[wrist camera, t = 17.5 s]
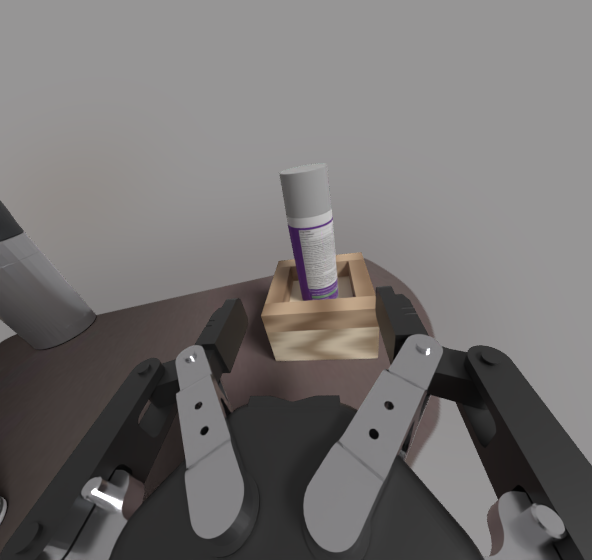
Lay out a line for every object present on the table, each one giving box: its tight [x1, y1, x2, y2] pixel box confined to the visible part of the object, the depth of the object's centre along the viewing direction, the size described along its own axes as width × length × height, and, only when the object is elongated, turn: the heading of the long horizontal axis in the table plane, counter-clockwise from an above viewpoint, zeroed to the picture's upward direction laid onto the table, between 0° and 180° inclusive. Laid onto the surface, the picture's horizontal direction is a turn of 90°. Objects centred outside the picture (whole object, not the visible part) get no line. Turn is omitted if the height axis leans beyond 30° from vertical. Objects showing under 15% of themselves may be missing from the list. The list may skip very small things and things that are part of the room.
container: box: [280, 164, 339, 301], centre depth 25 cm, size 5×5×15 cm
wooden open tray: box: [261, 253, 379, 361], centre depth 30 cm, size 12×12×8 cm
